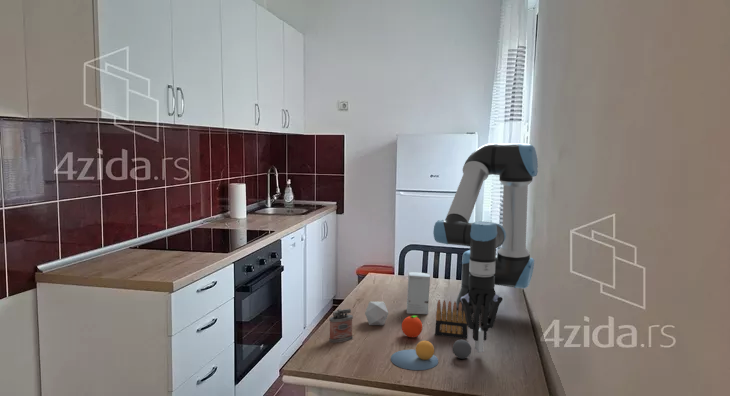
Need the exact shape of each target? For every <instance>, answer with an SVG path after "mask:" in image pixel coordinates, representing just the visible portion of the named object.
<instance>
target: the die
mask: <svg viewBox="0 0 730 396" xmlns="http://www.w3.org/2000/svg"><path fill="white" fill-rule="evenodd" d="M364 312H365V313H364V315H365V317H366V320H367V322H368V326H385V322H386V320H387V318H388V315H389V311H388V309H387V306H386V303H385V302H384V301H369V302H368V305H367V307H366V310H365V311H364Z"/></svg>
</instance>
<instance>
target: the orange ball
mask: <svg viewBox="0 0 730 396" xmlns="http://www.w3.org/2000/svg"><path fill="white" fill-rule="evenodd" d="M415 350H416V354H417V356H418V357H419V358H420V359H423V360H428V359H430V358H431V357H432V356H433V355H435V354H434V353H435V348H434V344H432V343H431V342H430V341H429V340H420V341H419V342H417V344H416V346H415Z"/></svg>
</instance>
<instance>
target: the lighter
mask: <svg viewBox="0 0 730 396" xmlns="http://www.w3.org/2000/svg"><path fill="white" fill-rule="evenodd" d="M332 315H333V316H331V317H329V338H328V339H329V340H328V341H329V343H341V342H346V341H350V340H353V319H354V315H353V314H351V308H344V309H341V308H339V309H336V310H334V311H332Z"/></svg>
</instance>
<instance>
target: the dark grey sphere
mask: <svg viewBox="0 0 730 396" xmlns="http://www.w3.org/2000/svg"><path fill="white" fill-rule="evenodd" d="M452 352H453V354H454V356H455V357H456V358H458V359H461V360H463V359H467V358H468V357H470V355H471V353H472V347H471V345H470V343H469V342H468V341H467V340H465V339H458V340H456V341H454V343H453V344H452Z"/></svg>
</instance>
